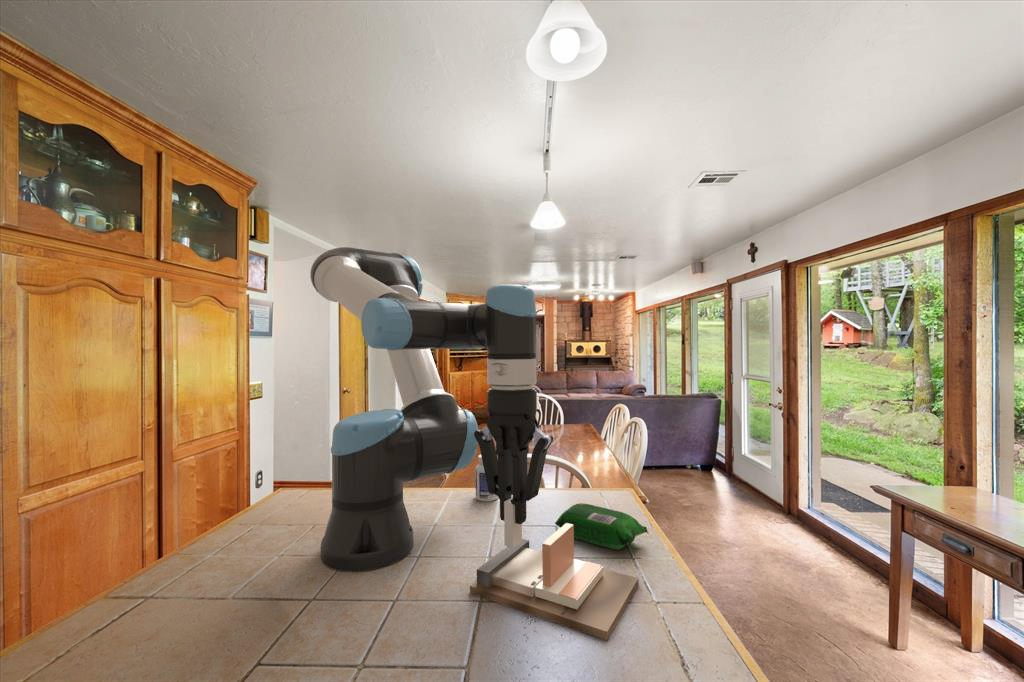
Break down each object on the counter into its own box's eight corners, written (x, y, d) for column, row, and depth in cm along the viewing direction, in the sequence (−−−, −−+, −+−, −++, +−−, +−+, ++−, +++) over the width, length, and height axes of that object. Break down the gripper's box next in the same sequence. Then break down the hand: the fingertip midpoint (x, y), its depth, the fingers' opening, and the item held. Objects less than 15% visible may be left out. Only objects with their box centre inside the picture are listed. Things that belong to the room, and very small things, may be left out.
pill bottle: (503, 497, 101) (503, 455, 101) (486, 503, 98) (485, 459, 98) (488, 492, 105) (488, 451, 105) (470, 498, 101) (470, 455, 102)
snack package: (632, 561, 71) (632, 528, 71) (552, 535, 81) (552, 506, 81) (649, 546, 77) (649, 515, 77) (572, 523, 87) (572, 496, 87)
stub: (535, 596, 59) (534, 545, 59) (565, 564, 67) (565, 520, 68) (577, 609, 56) (576, 555, 56) (603, 574, 64) (602, 527, 64)
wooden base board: (469, 592, 62) (469, 571, 62) (519, 552, 74) (519, 534, 74) (607, 640, 52) (606, 614, 52) (638, 584, 64) (638, 564, 64)
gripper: (462, 387, 67) (463, 543, 67) (538, 390, 60) (540, 564, 60) (490, 383, 73) (491, 525, 73) (561, 386, 67) (563, 543, 66)
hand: (513, 542), depth 66 cm, fingers closed
